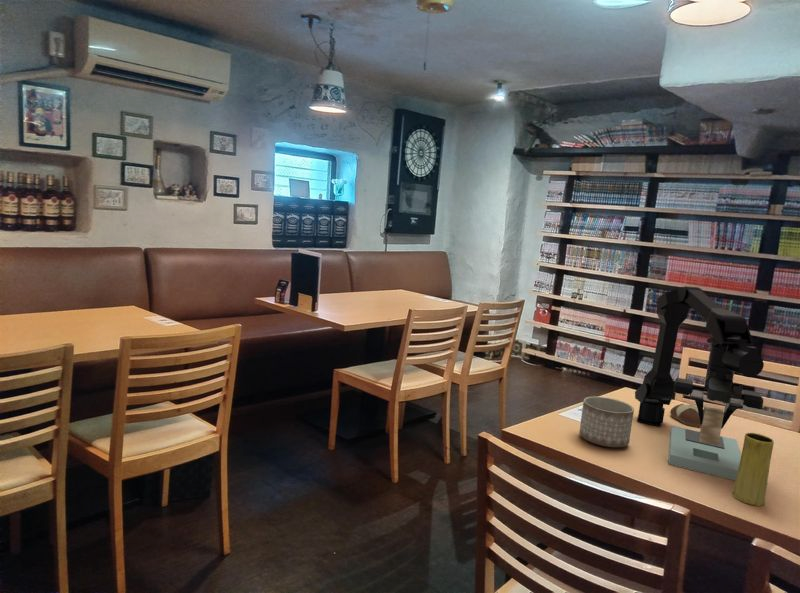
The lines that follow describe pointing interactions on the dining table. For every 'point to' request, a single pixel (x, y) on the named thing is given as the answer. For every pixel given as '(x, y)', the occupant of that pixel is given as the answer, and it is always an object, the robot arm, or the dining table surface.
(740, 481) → the vase
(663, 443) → the dining table surface
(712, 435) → the maple block
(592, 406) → the planter
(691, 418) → the bread
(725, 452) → the pocket board
